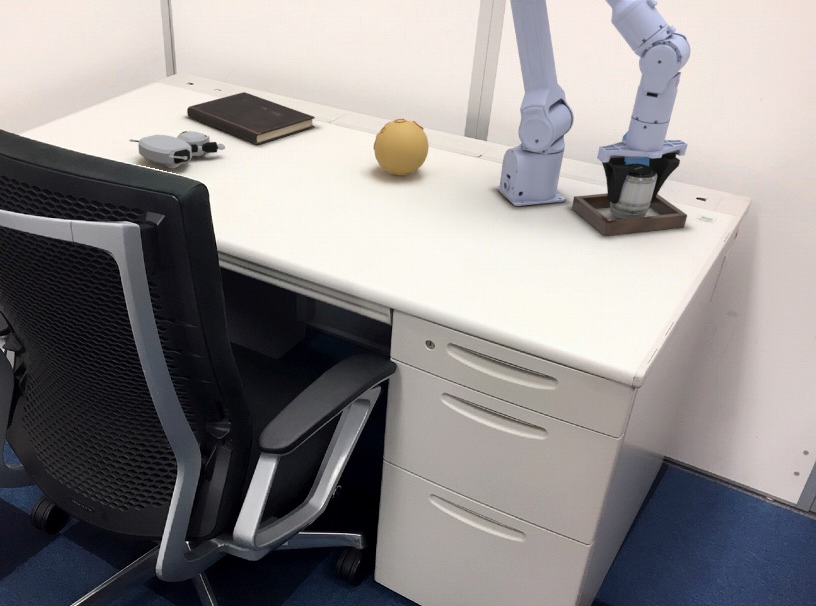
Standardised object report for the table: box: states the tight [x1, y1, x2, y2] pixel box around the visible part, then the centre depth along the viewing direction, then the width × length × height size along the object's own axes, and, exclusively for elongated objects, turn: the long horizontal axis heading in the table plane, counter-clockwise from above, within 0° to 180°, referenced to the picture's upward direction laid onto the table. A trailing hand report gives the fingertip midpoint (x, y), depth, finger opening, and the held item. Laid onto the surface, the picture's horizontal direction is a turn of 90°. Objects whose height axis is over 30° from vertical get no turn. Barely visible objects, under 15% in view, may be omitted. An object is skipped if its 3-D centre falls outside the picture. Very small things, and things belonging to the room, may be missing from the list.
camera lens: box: [609, 163, 657, 219], centre depth 140 cm, size 6×6×8 cm
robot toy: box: [129, 130, 226, 169], centre depth 162 cm, size 12×4×15 cm
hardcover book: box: [186, 91, 316, 146], centre depth 180 cm, size 16×23×2 cm
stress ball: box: [373, 118, 430, 176], centre depth 155 cm, size 10×10×10 cm
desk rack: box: [571, 192, 688, 237], centre depth 142 cm, size 14×11×2 cm
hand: (630, 199), depth 141 cm, fingers closed on camera lens, 6 cm apart
